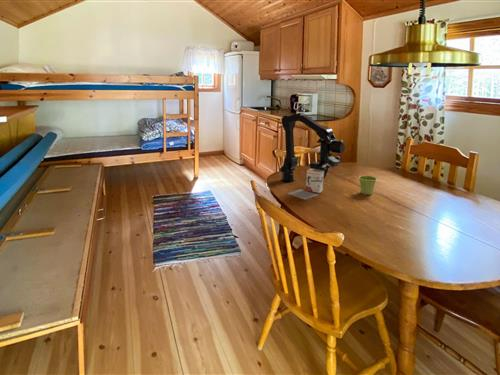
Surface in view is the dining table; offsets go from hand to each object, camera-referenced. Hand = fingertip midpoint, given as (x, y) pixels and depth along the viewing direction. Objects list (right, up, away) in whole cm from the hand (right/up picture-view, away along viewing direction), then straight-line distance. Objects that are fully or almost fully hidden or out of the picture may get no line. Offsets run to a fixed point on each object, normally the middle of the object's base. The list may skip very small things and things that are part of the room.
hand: (323, 178), depth 207 cm
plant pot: (+22, -9, -7) cm, 25 cm away
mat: (-13, -9, -8) cm, 18 cm away
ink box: (-6, -7, -3) cm, 10 cm away
